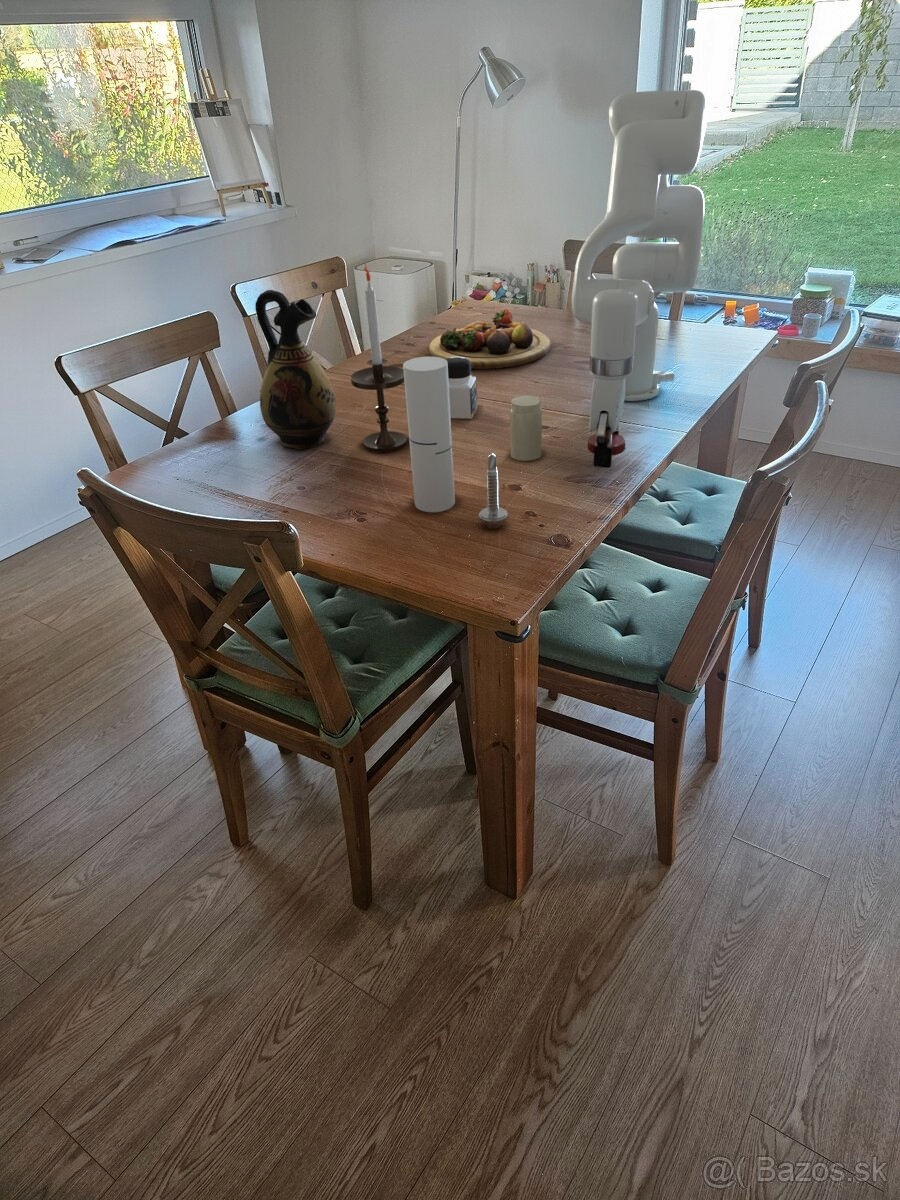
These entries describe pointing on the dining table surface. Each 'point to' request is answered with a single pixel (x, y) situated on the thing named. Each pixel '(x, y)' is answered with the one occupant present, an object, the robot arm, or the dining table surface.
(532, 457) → the jar
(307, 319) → the ceramic jug
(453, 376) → the medicine bottle
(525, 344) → the wooden plate
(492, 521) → the screw
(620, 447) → the lid
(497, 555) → the dining table surface
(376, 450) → the candlestick
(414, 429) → the cylindrical container
